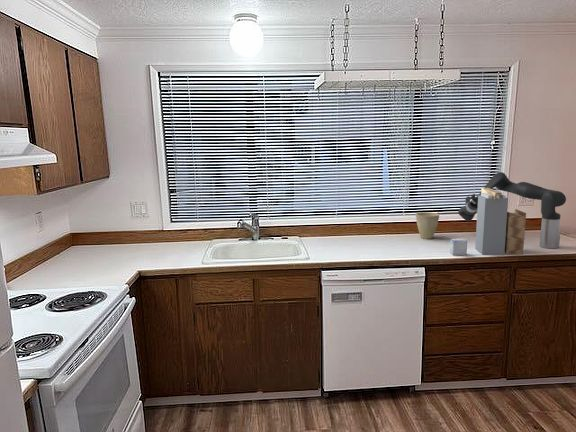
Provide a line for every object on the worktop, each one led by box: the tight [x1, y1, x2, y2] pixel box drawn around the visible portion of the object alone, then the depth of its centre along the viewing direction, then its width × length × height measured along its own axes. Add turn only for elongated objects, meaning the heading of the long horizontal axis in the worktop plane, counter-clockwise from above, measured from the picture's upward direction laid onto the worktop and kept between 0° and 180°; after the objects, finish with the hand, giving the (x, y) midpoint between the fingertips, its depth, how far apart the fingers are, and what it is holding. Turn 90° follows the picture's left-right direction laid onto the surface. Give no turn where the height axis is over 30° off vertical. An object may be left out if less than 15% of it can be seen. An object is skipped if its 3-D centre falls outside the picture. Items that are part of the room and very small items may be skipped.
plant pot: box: [415, 211, 440, 240], centre depth 285 cm, size 15×15×16 cm
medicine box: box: [449, 238, 468, 256], centre depth 245 cm, size 8×4×9 cm, turn 90°
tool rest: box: [504, 208, 527, 255], centre depth 247 cm, size 9×12×24 cm
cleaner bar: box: [480, 187, 504, 199], centre depth 244 cm, size 4×26×4 cm, turn 174°
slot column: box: [474, 193, 509, 256], centre depth 246 cm, size 12×12×34 cm
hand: (481, 195), depth 262 cm, fingers open, 8 cm apart
